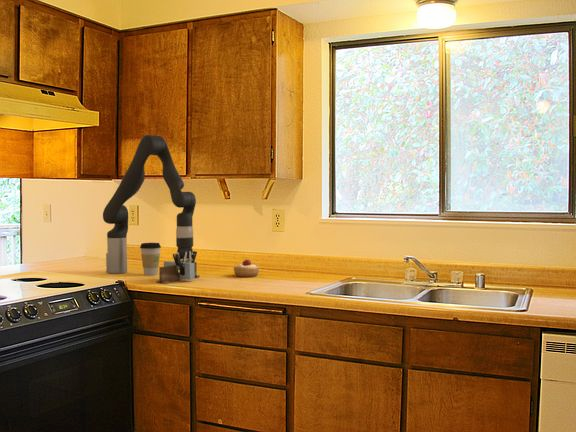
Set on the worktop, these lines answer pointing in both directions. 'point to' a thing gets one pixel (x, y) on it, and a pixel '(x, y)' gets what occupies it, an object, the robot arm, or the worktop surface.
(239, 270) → the pastry
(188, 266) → the cross bar
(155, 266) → the coffee cup
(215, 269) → the worktop surface
